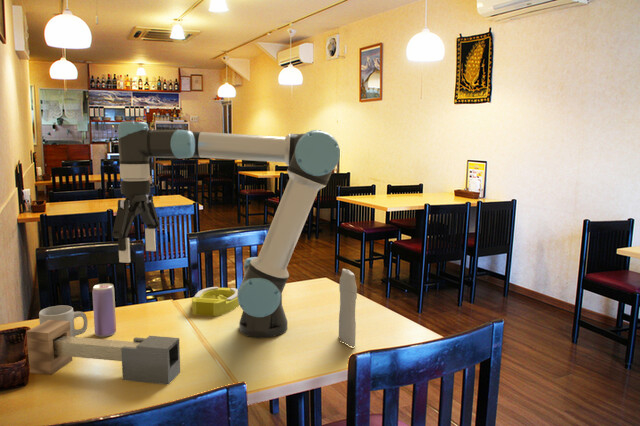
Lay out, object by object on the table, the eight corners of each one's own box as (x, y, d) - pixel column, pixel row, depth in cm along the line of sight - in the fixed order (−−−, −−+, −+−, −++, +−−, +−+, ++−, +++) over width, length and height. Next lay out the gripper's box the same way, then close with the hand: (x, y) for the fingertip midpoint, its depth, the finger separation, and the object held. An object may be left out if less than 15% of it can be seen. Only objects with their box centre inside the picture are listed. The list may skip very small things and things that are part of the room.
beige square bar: (156, 357, 120) (156, 343, 120) (149, 363, 117) (149, 349, 116) (57, 348, 125) (56, 335, 124) (47, 354, 121) (46, 340, 121)
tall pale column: (333, 335, 146) (334, 266, 142) (345, 334, 147) (347, 265, 144) (347, 350, 136) (349, 275, 133) (360, 348, 137) (362, 274, 134)
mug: (43, 356, 129) (40, 317, 128) (39, 345, 136) (37, 308, 134) (91, 346, 136) (89, 309, 134) (85, 336, 143) (83, 301, 141)
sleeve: (180, 372, 121) (179, 338, 120) (168, 384, 115) (167, 348, 114) (136, 368, 123) (135, 334, 122) (122, 380, 117) (121, 344, 116)
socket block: (72, 360, 127) (69, 321, 125) (51, 374, 119) (48, 333, 118) (52, 358, 128) (49, 319, 126) (29, 372, 120) (26, 331, 118)
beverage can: (108, 338, 141) (105, 289, 139) (90, 336, 143) (87, 288, 140) (120, 330, 147) (118, 284, 145) (103, 329, 148) (100, 282, 146)
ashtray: (182, 314, 163) (181, 300, 162) (206, 295, 183) (205, 283, 182) (228, 318, 160) (227, 304, 159) (247, 298, 180) (247, 285, 179)
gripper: (146, 176, 141) (148, 246, 144) (93, 183, 117) (98, 266, 120) (169, 176, 140) (172, 247, 143) (122, 183, 116) (126, 268, 119)
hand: (138, 256), depth 132 cm, fingers open, 13 cm apart
